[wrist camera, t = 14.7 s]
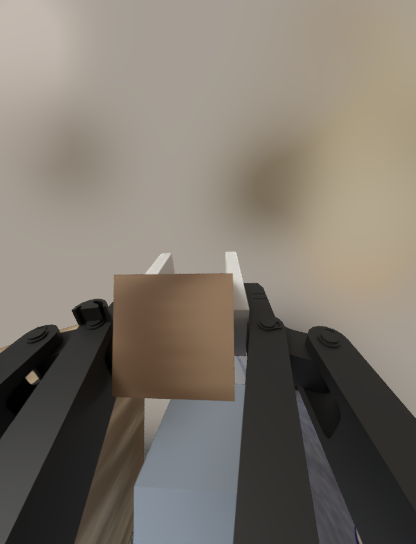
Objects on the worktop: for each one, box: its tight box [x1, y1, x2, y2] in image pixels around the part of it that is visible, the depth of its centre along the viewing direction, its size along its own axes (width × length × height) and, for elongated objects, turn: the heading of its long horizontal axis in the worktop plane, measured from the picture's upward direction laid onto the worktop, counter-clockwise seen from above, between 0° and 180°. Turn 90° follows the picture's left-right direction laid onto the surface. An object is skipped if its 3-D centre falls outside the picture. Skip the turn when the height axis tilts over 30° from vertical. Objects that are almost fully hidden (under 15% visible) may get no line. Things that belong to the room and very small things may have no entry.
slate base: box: [133, 384, 245, 544], centre depth 22 cm, size 12×16×20 cm
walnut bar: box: [112, 273, 235, 401], centre depth 19 cm, size 4×26×4 cm, turn 176°
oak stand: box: [0, 325, 144, 544], centre depth 24 cm, size 12×16×30 cm
